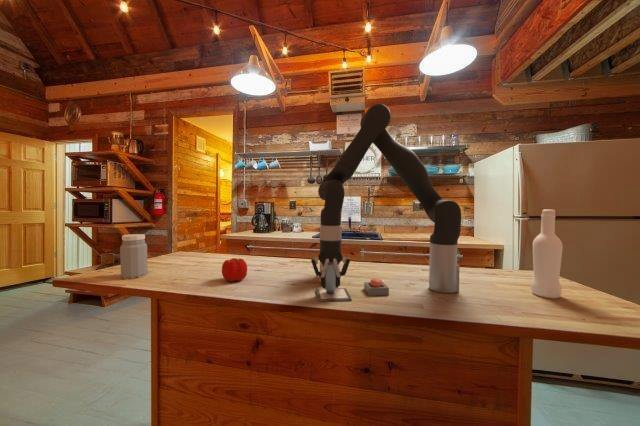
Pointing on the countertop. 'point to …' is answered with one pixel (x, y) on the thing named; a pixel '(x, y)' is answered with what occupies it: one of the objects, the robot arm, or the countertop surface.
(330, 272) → the grey-blue cylinder
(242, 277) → the tomato
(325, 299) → the board
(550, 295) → the bottle
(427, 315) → the countertop surface
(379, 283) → the button
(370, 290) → the button collar
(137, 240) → the jar
